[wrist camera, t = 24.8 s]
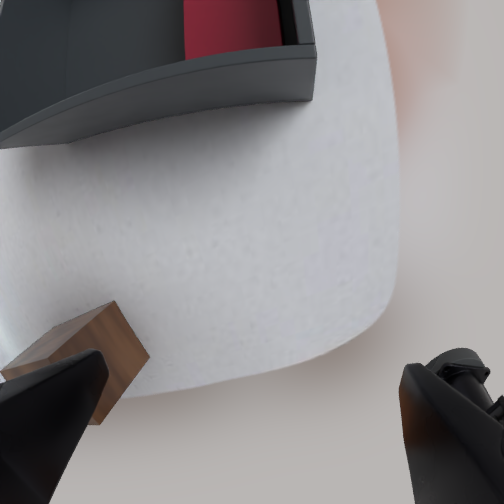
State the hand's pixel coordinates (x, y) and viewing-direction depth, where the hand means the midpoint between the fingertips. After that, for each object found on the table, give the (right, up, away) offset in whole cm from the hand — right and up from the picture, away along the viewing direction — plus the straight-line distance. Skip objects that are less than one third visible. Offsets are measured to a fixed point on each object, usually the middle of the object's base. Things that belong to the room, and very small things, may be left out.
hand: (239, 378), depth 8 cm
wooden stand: (-15, -5, +18) cm, 24 cm away
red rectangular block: (0, +18, +7) cm, 20 cm away
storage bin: (-6, +22, +8) cm, 24 cm away
